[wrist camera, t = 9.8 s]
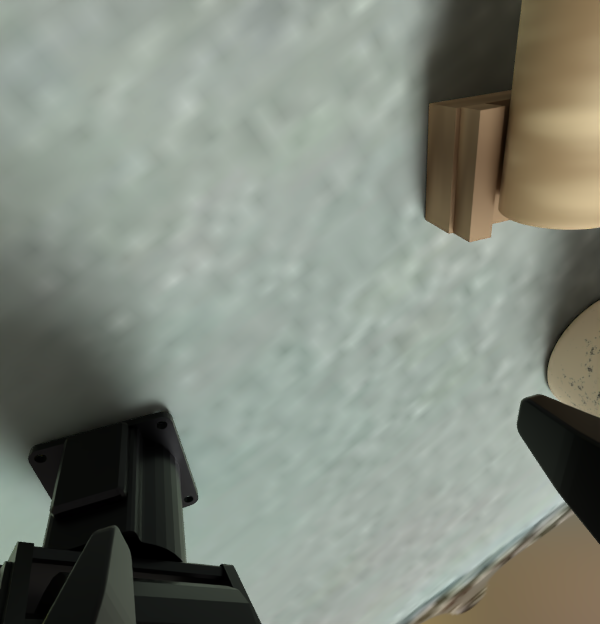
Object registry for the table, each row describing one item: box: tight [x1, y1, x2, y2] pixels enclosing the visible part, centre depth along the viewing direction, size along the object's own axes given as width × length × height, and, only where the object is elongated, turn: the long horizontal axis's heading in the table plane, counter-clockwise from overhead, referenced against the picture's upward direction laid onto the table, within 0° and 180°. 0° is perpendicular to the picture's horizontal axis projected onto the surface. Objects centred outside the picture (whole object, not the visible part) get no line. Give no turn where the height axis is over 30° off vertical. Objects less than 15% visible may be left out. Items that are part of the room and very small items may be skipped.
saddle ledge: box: [425, 90, 512, 242], centre depth 20 cm, size 5×8×3 cm, turn 97°
